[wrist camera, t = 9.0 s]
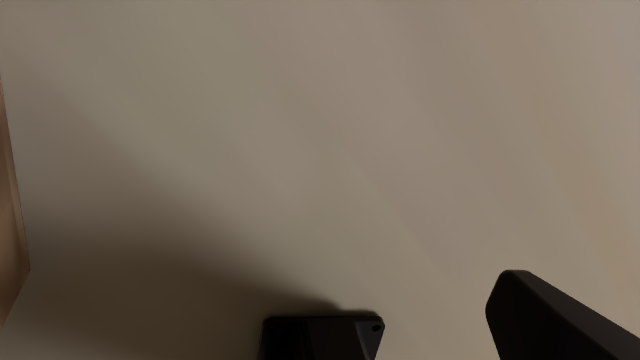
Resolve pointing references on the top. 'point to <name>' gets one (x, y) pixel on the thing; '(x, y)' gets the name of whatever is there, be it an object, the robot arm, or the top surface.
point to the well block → (10, 224)
